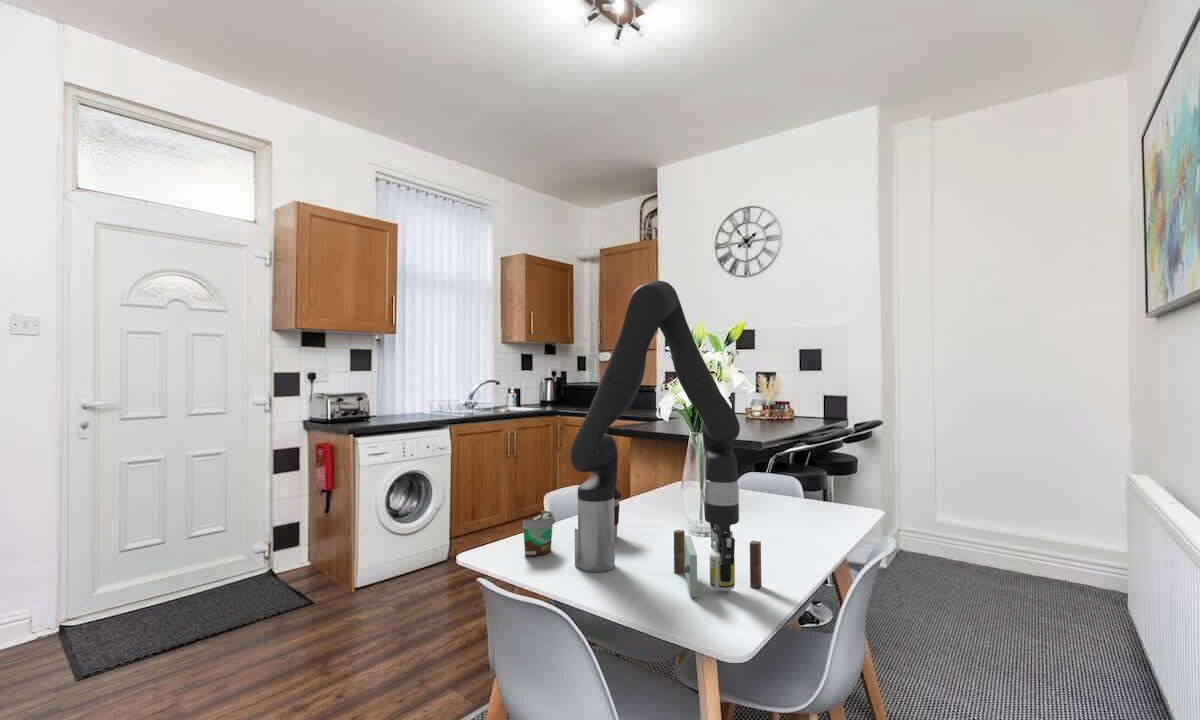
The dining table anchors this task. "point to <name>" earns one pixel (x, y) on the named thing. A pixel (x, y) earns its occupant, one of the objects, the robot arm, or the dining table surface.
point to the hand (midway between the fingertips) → (722, 575)
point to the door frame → (754, 558)
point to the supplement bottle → (715, 572)
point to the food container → (538, 534)
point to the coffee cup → (616, 510)
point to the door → (690, 566)
